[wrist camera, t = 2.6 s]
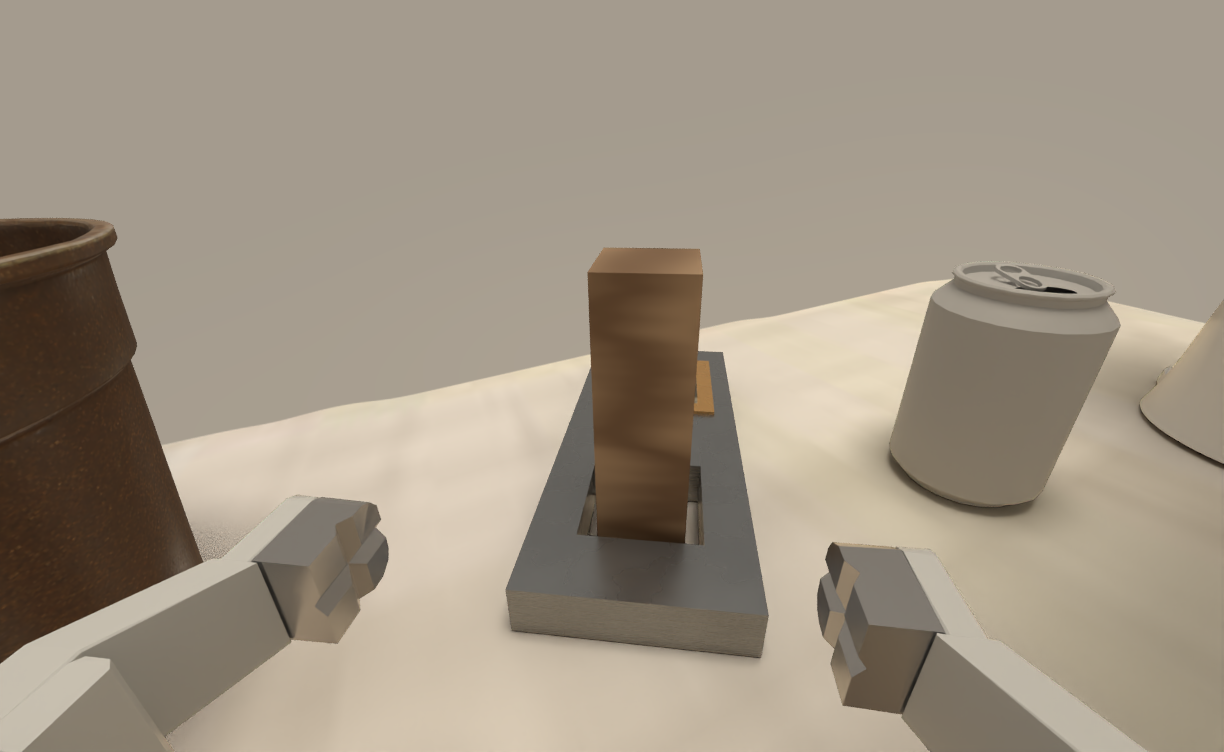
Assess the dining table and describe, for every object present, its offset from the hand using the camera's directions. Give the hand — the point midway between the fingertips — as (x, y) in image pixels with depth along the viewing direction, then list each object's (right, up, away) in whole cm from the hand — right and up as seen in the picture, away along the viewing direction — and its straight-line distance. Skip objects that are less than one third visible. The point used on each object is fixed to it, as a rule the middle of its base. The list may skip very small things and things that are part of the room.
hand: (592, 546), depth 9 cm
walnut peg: (+2, -5, +16) cm, 17 cm away
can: (+21, -3, +20) cm, 29 cm away
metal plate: (+3, -2, +22) cm, 22 cm away
